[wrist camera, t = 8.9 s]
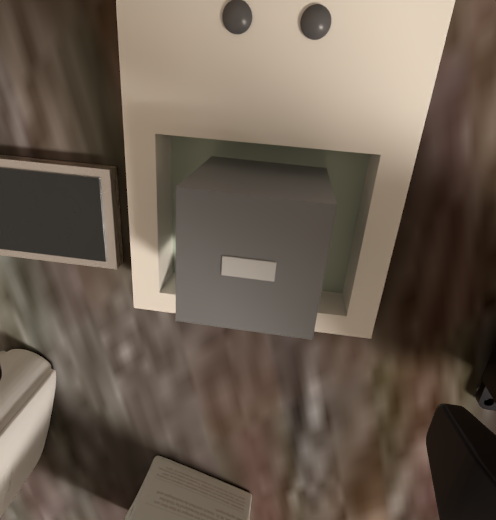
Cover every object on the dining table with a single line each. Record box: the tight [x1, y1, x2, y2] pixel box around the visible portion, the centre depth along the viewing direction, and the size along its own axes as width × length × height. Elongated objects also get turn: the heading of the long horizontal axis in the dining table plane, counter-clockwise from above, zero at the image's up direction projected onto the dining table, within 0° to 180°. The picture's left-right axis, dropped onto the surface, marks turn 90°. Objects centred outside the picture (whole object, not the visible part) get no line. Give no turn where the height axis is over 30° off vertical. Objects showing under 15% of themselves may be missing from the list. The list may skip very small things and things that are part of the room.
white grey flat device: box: [116, 0, 455, 339], centre depth 16 cm, size 11×16×3 cm
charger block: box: [176, 156, 337, 340], centre depth 16 cm, size 5×5×6 cm
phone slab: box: [0, 155, 124, 269], centre depth 19 cm, size 5×9×1 cm, turn 86°
